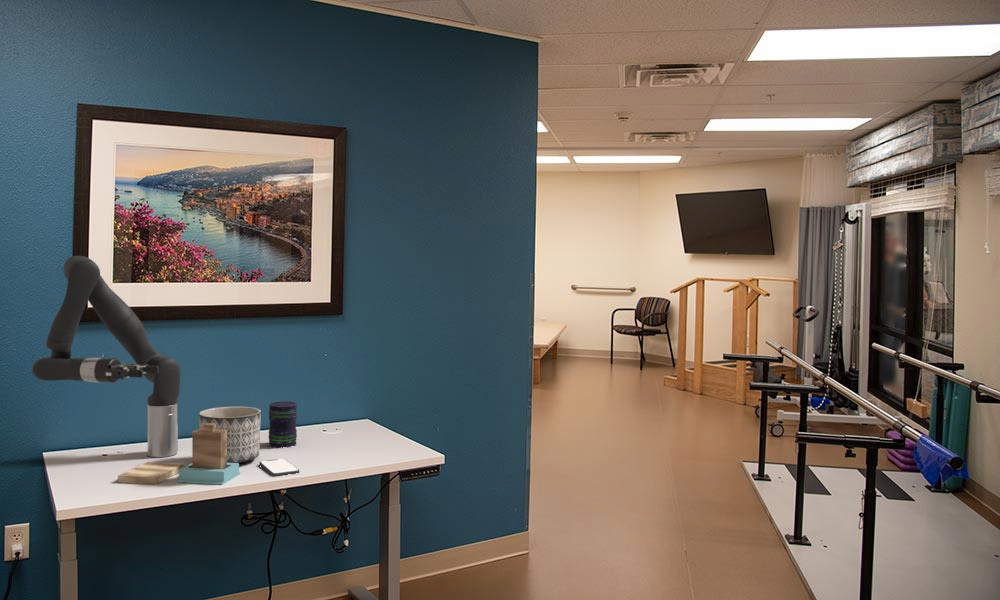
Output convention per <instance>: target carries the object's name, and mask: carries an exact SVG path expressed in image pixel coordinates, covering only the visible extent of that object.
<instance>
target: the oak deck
mask: <svg viewBox="0 0 1000 600" xmlns="http://www.w3.org/2000/svg"><path fill="white" fill-rule="evenodd" d="M183 467H185V463H179V462H178V463H176V462H174V463H173V462H158V461H157V462H155V461H147V462H145V463H142V464H140V465H138V466H136V467H134V468H132V469H129V470H127V471H125V472H122V473H120V474H118V475H117V482H118V483H126V482H127V484H142V483H149V484H148V485H157V483H158V484H160V483H161V481H162V482H164V481H165V480H164V479H166V480H167V479H169V478H171V477H174V476H175V475H177V474H179V469H181V468H183ZM163 480H164V481H163ZM159 482H160V483H159ZM150 483H151V484H150Z"/></svg>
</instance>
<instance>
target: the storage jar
mask: <svg viewBox="0 0 1000 600" xmlns="http://www.w3.org/2000/svg"><path fill="white" fill-rule="evenodd" d="M268 407H269V408H268V420H269V430H268V442H269V443H268V446H269V447H271V448H274V447H276V448H275V449H284V448H283V447H287V448H292V447H291V446H293V447H295V446H297V437H298V436H297V435H298V434H297V431H298V430H297V417H298V410H297V402H295V401H273V402H270V403H268ZM281 447H282V448H281Z"/></svg>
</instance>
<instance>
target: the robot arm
mask: <svg viewBox="0 0 1000 600" xmlns="http://www.w3.org/2000/svg"><path fill="white" fill-rule="evenodd" d="M99 267H100V266H98V264H97V263H96V262H95V261H93V260H92V259H91V258H90V257H87V256H83V255H73V256H71V257H69V258H68V259H66V260H65V262H64V264H63V269H62V270H63V275H64V278H65V279H66V280H67V286H66V292H65V296H64V299H63V301H62V303H61V306H60V308H59V310H58V311H57V313H56V315H55V317H54V318H53V321H52V323H51V325H50V326H51V327H50V329H49V332H48V335H47V338H46V341H45V346H46V348H48V350H51V351H50V353H51V354H50V356H48V357H47V356H46V357H41V358H39V359H37V360H36V361H35V362H34V363H33V365H32V367H31V370H32V374H33V376H34V377H35V378H37V379H38V380H40V381H50V382H51V381H75V382H89V383H109V384H113V383H117V382H118V380H123V379H129V378H143V377H145V379H146V380H147V381H149V382H151V383H153V388H152V393H151V394H150V395H149V396H147V456H148V457H150V458H165V457H172V456H174V455H176V454H178V451H179V425H178V399H179V396H180V393H181V392H180V391H181V367H180V364H179V362H178V361H177V360H175V359H174V358H172V357H166V356H164V355H163V356H162V355H161V354H160V353H159V352H158V351H157V350H156V349H155V347H154V346H153V345H152V344H151V342H150V341H149V339H148V337H147V334H146V331H145V328H144V326H143V323H142V322H141V320H140V319H139V317H138V316H137V315H136V313H135V311H133V310H132V309H131V307H129V305H128V304H127V303H126V302H125V301H124V300H123V299H122V298H121V297H120V296H119V295H118V294H117V293H115V291H114V290H112V289H111V288H110V287H109V285H108V284H107V282H106V281H105V279H103V277H102V275H101V271H100V268H99ZM88 302H89V303H90V306H92V308H93V310H94V311H95V313H96V315H97V316H98V318H99V319H100V321H101V322H102V323H103V324H104V326H105V328H106V329H107V330H108V331H109V333H111V335H112V336H113V337H114V338H115V339H116V340H117V342H119V344H120V345H121V347H123V349H124V350H125V351H127V353H128V354H129V355H130V356H131V357H132V359H133V360H134V361H135V363H123V364H122V363H121V361H120V360H119V359H117V358H113V357H112V358H110V357H89V358H87V357H74V358H72V345H73V344H74V343H73V342H74V341H75V337H76V334H77V331H78V327H79V323H80V321H81V318H82V315H83V314H84V310H85V307H86V305H87V303H88Z"/></svg>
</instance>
